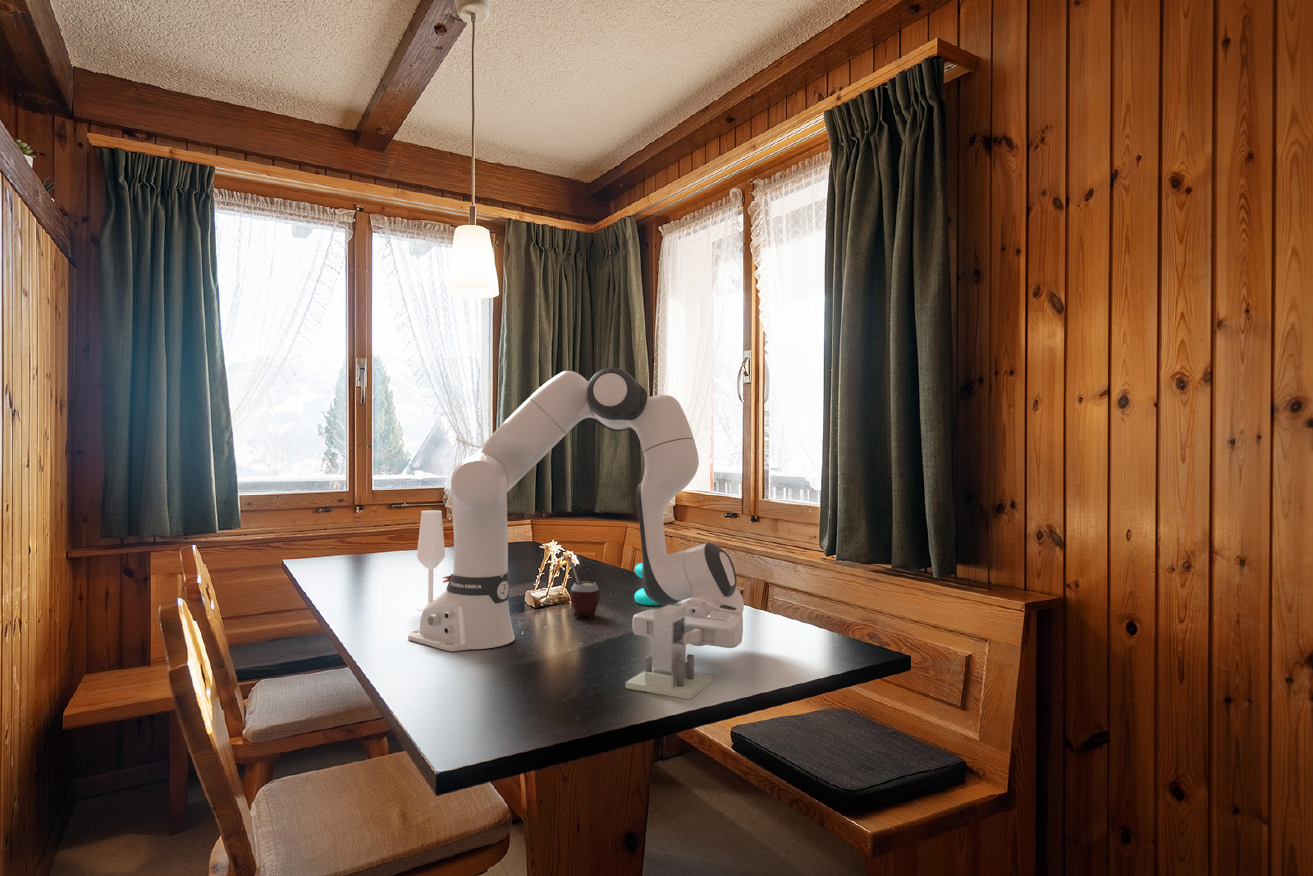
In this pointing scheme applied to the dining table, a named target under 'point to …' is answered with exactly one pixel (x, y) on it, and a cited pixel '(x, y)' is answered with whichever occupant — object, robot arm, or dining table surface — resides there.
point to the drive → (669, 639)
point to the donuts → (642, 590)
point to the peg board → (670, 680)
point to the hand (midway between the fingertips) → (669, 638)
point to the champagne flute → (430, 547)
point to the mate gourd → (584, 597)
